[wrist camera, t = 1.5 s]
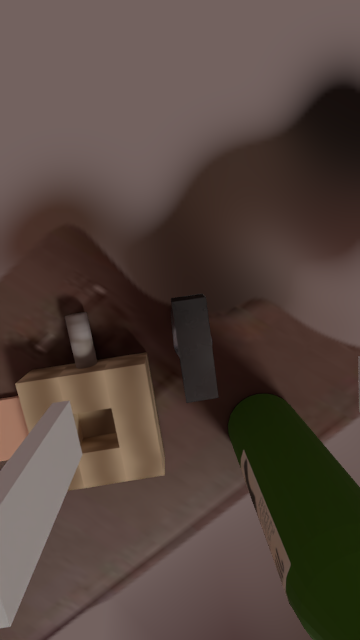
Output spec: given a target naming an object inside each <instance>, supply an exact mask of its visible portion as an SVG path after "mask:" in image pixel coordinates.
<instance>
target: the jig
mask: <svg viewBox="0 0 360 640" xmlns="http://www.w3.org/2000/svg"><path fill="white" fill-rule="evenodd" d="M65 321H66V325H67V329H68V334H69V338H70V342H71V347H72V351H73V355H74V360H75V363H74V364H67V365H61V366H54V367H48V368H41V369H35V370H31V371H30V372H28V373H27V374H26V375H25V376H24V377H23V378H21V379H20V380H19V381H18V382H17V383H16V384H15V385H16V389H17V392H18V396H19V399H20V403H21V406H22V410H23V414H24V417H25V421H26V424H27V428H28V432H29V433H30V432H31V430H32V429H33V428H34V426H35V425H36V424H37V423H38V421H39V420H40V419H41V417H42V416H43V415H44V413H45V412H46V411H47V410H48V408H49V407H50V406H51V404H52V403H56V402H63V401H69V400H70V404H71V409H72V413H73V417H74V421H75V425H76V429H77V433H78V438H79V442H80V446H81V450H82V454H83V455H82V457H81V459H80V462H79V464H78V466H77V469H76V471H75V474H74V476H73V478H72V481H71V483H70V486H69V488H68V490H67V491H70V490H76V489H82V488H88V487H94V486H100V485H107V484H113V483H119V482H125V481H131V480H137V479H144V478H150V477H156V476H162V475H165V453H164V447H163V442H162V436H161V430H160V424H159V419H158V413H157V407H156V402H155V396H154V390H153V384H152V379H151V373H150V367H149V361H148V356H147V352H146V353H139V354H133V355H126V356H120V357H113V358H107V359H100V360H97V358H96V354H95V349H94V344H93V340H92V335H91V330H90V325H89V321H88V316H87V312H80V313H74V314H70V315H67V316H65Z"/></svg>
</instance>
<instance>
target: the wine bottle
mask: <svg viewBox="0 0 360 640" xmlns="http://www.w3.org/2000/svg"><path fill="white" fill-rule="evenodd" d="M228 433H229V437H230V440H231V443H232V445H233V448H234V451H235V454H236V456H237V459H238V462H239V465H240V467H241V470H242V473H243V477H244V479H245V482H246V485H247V488H248V490H249V493H250V496H251V499H252V502H253V504H254V507H255V510H256V512H257V515H258V518H259V521H260V524H261V526H262V529H263V532H264V535H265V538H266V540H267V543H268V546H269V549H270V551H271V554H272V557H273V560H274V562H275V565H276V568H277V571H278V573H279V576H280V579H281V582H282V585H283V587H284V590H285V593H286V596H287V598H288V601H289V604H290V605H291V607H292V608H293V610H294V612H295V613H296V615H297V617H298V618H299V620H300V622H301V624H302V625H303V627H304V629H305V630H306V631H307V633H308V634H309V635H310V637H311V638H312V639H313V640H360V487H359V486H358V485H357V484H356V483H355V481H354V480H353V479H352V478H351V476H350V475H349V474H348V473H347V472H346V471H345V469H344V468H343V467H342V466H341V465H340V463H339V462H338V461H337V460H336V459H335V458H334V457H333V455H332V454H331V453H330V452H329V450H328V449H327V448H326V447H325V446H324V445H323V443H322V442H321V441H320V440H319V439H318V438H317V436H316V435H315V434H314V433H313V432H312V430H311V429H310V428H309V427H308V426H307V425H306V423H305V422H304V421H303V420H302V419H301V417H300V416H299V415H298V414H297V413H296V412H295V410H294V409H293V408H292V407H291V406H290V405H289V404H288V403H287V402H286V401H285V400H284V399H282V398H280V397H278V396H275V395H271V394H256V395H253V396H249V397H247V398H246V399H244V400H242V401H241V402H240V403H239V404H238V405H237V406H236V407H235V408H234V410H233V412H232V413H231V415H230V419H229V423H228Z"/></svg>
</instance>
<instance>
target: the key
mask: <svg viewBox="0 0 360 640" xmlns="http://www.w3.org/2000/svg"><path fill="white" fill-rule="evenodd" d="M171 303H172V309H171V323H172V332H173V341H174V348H175V351H176V353H177V355H178V356H179V357H180V363H181V370H182V376H183V383H184V390H185V396H186V403H189V402H195V401H202V400H208V399H214V398H218V390H217V382H216V374H215V366H214V358H213V350H212V338H211V334H210V326H209V318H208V310H207V302H206V297H205V296H204V295H203V294H196V295H190V296H183V297H177V298H171Z"/></svg>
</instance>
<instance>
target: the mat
mask: <svg viewBox="0 0 360 640" xmlns="http://www.w3.org/2000/svg"><path fill="white" fill-rule="evenodd" d="M28 434H29V432H28V428H27V424H26V421H25V417H24V414H23V410H22V406H21V403H20V399H19V396H14V397H8V398H1V399H0V461H5V460H9V459H10V458H11V456H12V455H13V454H14V452H15V451H16V450H17V449H18V447H19V446H20V445H21V443H22V442H23V441H24V439H25V438H26V437H27V436H28Z"/></svg>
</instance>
